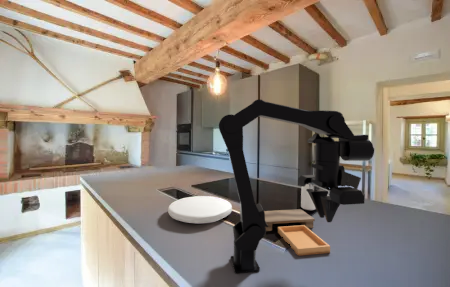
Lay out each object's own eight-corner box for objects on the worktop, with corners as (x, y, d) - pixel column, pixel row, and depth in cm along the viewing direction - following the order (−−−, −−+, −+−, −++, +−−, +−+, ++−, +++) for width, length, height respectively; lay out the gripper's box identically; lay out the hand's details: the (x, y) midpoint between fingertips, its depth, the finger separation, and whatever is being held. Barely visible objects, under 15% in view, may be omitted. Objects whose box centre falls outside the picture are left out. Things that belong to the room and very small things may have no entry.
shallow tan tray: (330, 252, 60) (330, 246, 60) (298, 255, 58) (298, 249, 58) (304, 230, 73) (304, 225, 73) (277, 232, 72) (277, 226, 72)
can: (306, 211, 92) (307, 184, 91) (298, 206, 98) (298, 181, 98) (319, 209, 94) (319, 183, 93) (309, 205, 100) (310, 180, 99)
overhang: (314, 227, 76) (314, 218, 76) (262, 231, 73) (262, 222, 72) (300, 216, 86) (300, 209, 85) (254, 219, 82) (254, 211, 82)
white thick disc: (184, 192, 104) (236, 196, 99) (184, 205, 104) (236, 210, 99) (155, 205, 77) (224, 211, 72) (154, 222, 77) (224, 230, 71)
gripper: (387, 165, 45) (384, 234, 46) (331, 156, 64) (329, 205, 64) (342, 166, 43) (340, 238, 44) (297, 156, 62) (296, 207, 63)
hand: (325, 219), depth 54 cm, fingers open, 3 cm apart
